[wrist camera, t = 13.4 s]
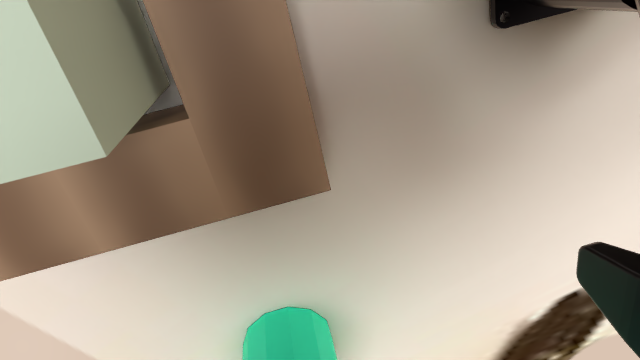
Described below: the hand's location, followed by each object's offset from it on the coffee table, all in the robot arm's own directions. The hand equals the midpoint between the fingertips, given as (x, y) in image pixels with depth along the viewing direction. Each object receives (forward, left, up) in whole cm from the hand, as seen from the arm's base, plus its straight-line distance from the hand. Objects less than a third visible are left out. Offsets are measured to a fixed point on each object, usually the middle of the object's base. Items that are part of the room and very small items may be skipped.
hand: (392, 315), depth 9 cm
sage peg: (+8, -6, -13) cm, 16 cm away
